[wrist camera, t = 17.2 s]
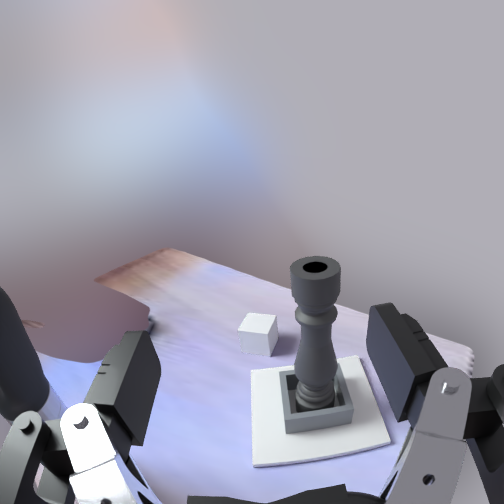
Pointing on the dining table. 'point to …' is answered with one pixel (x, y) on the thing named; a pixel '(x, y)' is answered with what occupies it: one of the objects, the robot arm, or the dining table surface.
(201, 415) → the dining table surface
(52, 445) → the robot arm
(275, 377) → the collar board
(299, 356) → the candle holder
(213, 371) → the dining table surface
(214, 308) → the dining table surface
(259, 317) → the white cube
